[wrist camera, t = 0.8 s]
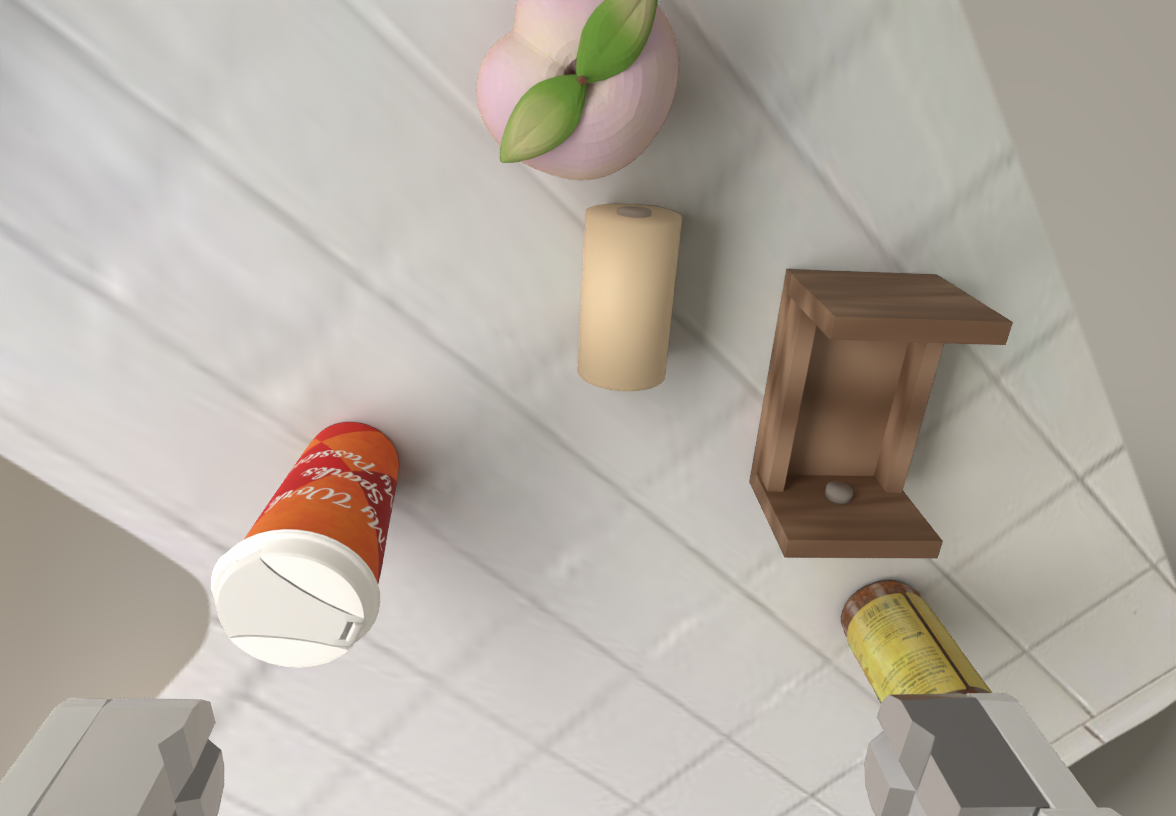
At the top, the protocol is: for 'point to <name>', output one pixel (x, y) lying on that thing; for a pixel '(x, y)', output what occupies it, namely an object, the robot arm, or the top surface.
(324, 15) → the top surface
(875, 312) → the holder
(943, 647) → the sauce bottle
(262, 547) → the paper cup
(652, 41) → the decorative fruit
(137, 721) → the robot arm
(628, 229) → the roll
